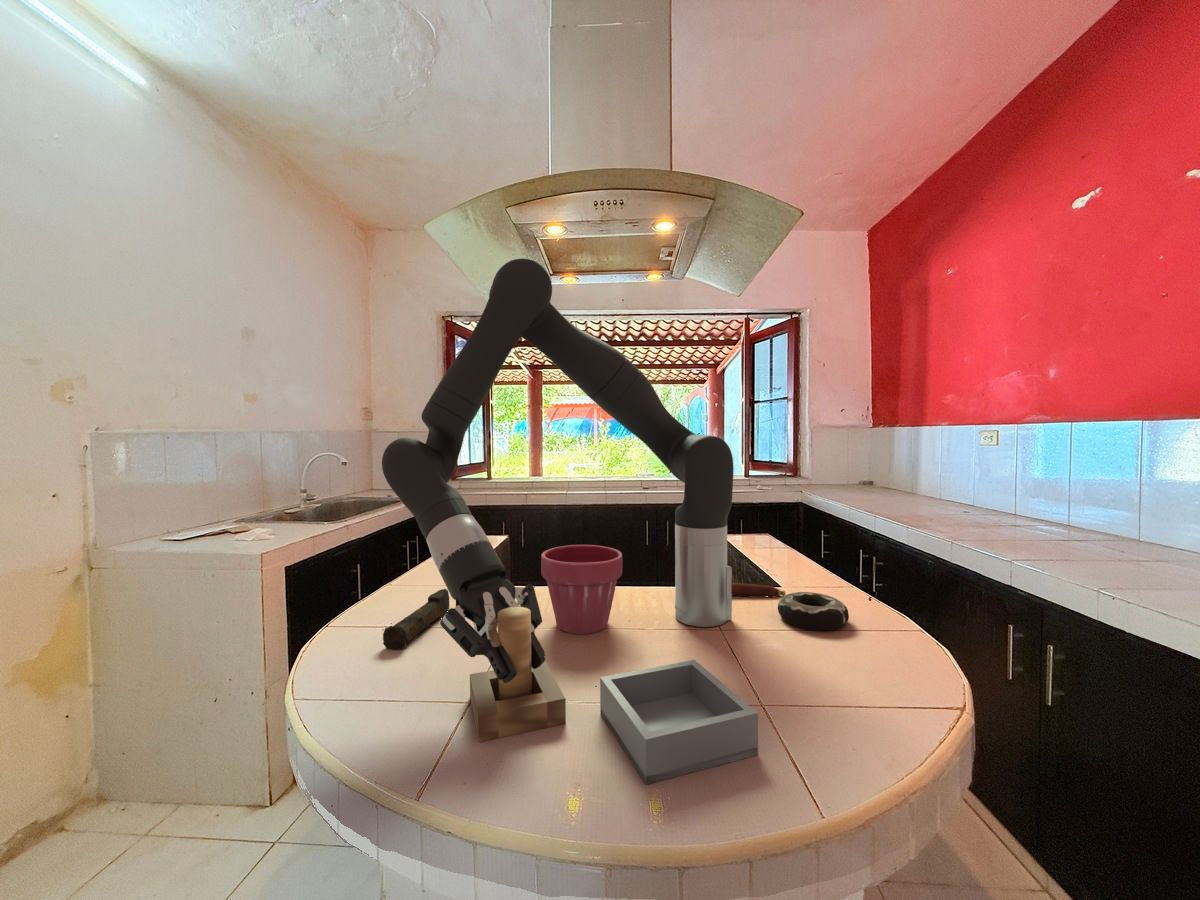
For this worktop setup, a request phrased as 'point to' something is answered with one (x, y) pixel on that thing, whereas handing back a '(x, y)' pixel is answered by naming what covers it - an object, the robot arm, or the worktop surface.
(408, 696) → the worktop surface
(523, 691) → the dowel
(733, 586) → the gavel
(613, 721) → the tray
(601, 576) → the plant pot
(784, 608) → the donut
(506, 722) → the socket block
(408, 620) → the hand tool
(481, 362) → the robot arm
